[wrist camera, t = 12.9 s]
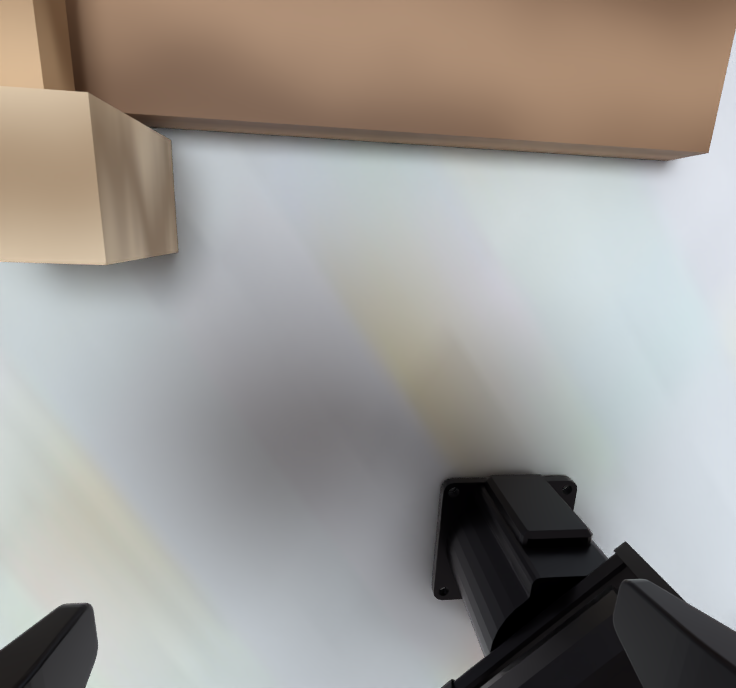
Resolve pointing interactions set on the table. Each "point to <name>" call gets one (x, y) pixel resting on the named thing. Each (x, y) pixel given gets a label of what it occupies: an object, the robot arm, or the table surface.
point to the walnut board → (417, 70)
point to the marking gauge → (73, 156)
